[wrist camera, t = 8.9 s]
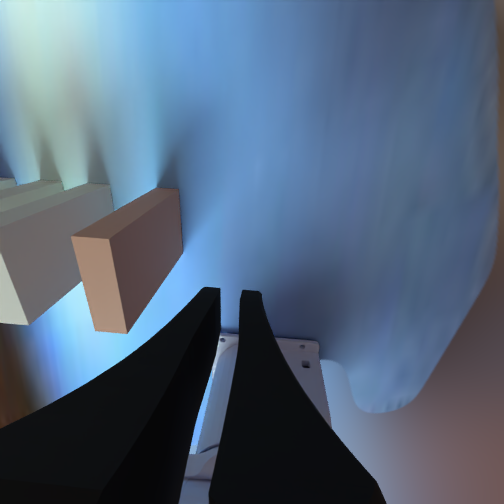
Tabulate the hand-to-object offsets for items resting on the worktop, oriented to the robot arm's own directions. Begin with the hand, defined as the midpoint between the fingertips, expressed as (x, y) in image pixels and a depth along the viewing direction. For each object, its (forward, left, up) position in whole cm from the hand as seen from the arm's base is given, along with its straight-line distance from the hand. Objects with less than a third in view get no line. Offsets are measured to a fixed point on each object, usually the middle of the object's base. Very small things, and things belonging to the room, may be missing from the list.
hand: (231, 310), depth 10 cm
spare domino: (+6, +1, -10) cm, 12 cm away
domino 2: (+11, +1, -10) cm, 15 cm away
